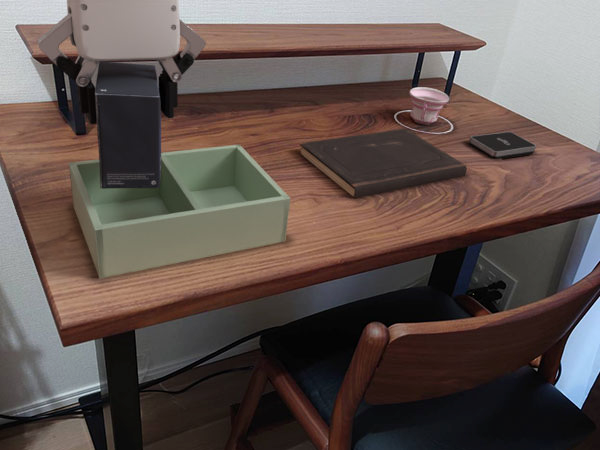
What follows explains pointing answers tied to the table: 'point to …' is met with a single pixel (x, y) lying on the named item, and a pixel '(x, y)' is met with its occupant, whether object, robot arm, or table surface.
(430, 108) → the teacup
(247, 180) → the caddy
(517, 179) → the table surface
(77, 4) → the robot arm
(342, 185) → the hardcover book
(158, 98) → the small box
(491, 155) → the external hard drive
